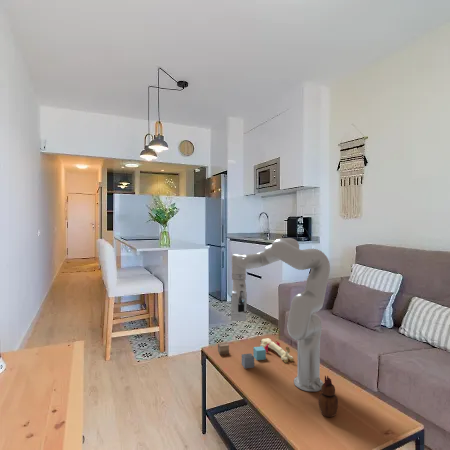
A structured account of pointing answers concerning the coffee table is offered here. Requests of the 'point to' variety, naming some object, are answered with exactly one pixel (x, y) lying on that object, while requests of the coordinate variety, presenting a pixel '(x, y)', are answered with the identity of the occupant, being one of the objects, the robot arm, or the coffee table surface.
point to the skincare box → (234, 309)
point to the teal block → (259, 353)
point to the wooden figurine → (328, 399)
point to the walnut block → (223, 348)
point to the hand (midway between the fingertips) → (238, 309)
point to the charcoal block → (247, 360)
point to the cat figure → (277, 349)
